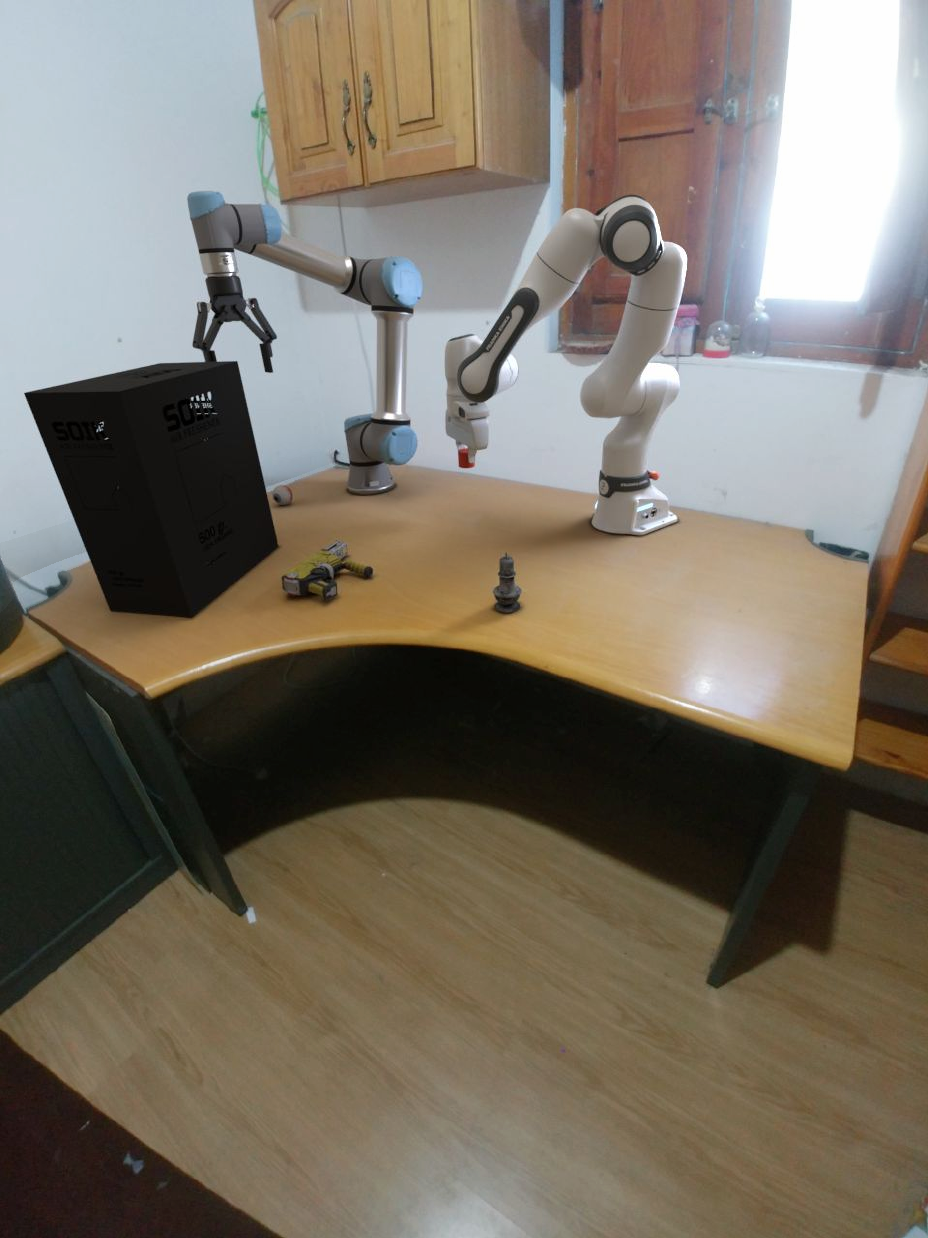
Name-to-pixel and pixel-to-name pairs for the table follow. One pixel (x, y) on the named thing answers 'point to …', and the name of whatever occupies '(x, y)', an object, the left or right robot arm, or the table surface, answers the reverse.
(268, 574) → the table surface
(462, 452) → the can
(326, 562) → the toy gun
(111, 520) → the cardboard box
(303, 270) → the left robot arm
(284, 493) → the eyeball
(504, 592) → the dark grey tapered piece
